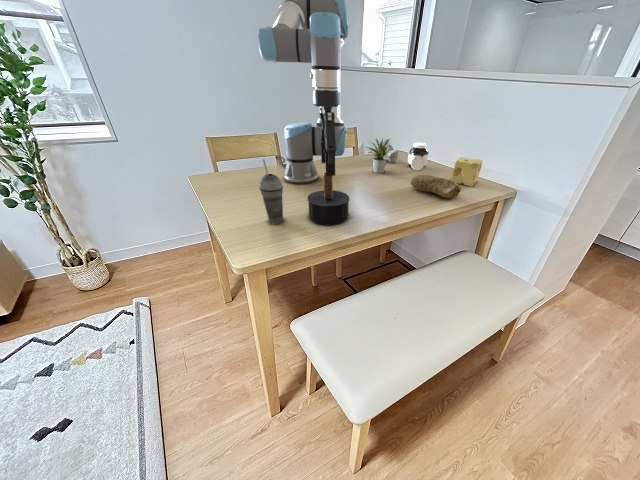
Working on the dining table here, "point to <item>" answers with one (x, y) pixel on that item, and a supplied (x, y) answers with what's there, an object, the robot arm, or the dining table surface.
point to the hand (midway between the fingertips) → (327, 168)
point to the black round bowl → (328, 214)
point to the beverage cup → (272, 196)
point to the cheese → (466, 171)
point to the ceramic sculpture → (391, 154)
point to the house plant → (379, 155)
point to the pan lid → (328, 196)
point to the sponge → (436, 185)
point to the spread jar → (418, 156)
